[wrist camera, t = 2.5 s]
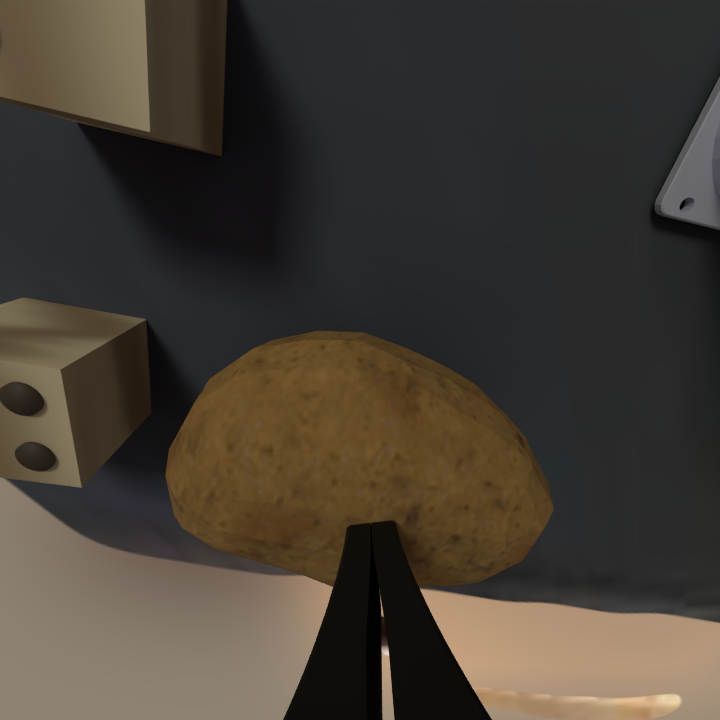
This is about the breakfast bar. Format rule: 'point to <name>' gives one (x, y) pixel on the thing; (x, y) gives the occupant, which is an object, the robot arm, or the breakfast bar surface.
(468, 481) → the potato
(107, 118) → the pip block two
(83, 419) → the pip block four
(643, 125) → the breakfast bar surface
